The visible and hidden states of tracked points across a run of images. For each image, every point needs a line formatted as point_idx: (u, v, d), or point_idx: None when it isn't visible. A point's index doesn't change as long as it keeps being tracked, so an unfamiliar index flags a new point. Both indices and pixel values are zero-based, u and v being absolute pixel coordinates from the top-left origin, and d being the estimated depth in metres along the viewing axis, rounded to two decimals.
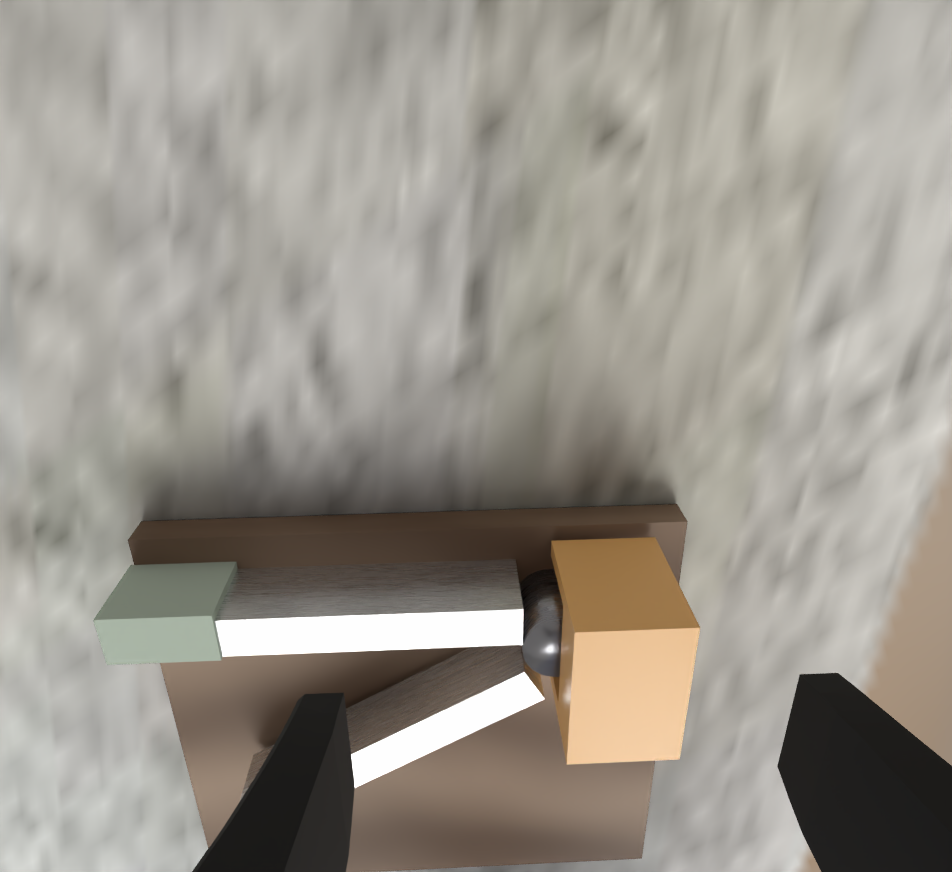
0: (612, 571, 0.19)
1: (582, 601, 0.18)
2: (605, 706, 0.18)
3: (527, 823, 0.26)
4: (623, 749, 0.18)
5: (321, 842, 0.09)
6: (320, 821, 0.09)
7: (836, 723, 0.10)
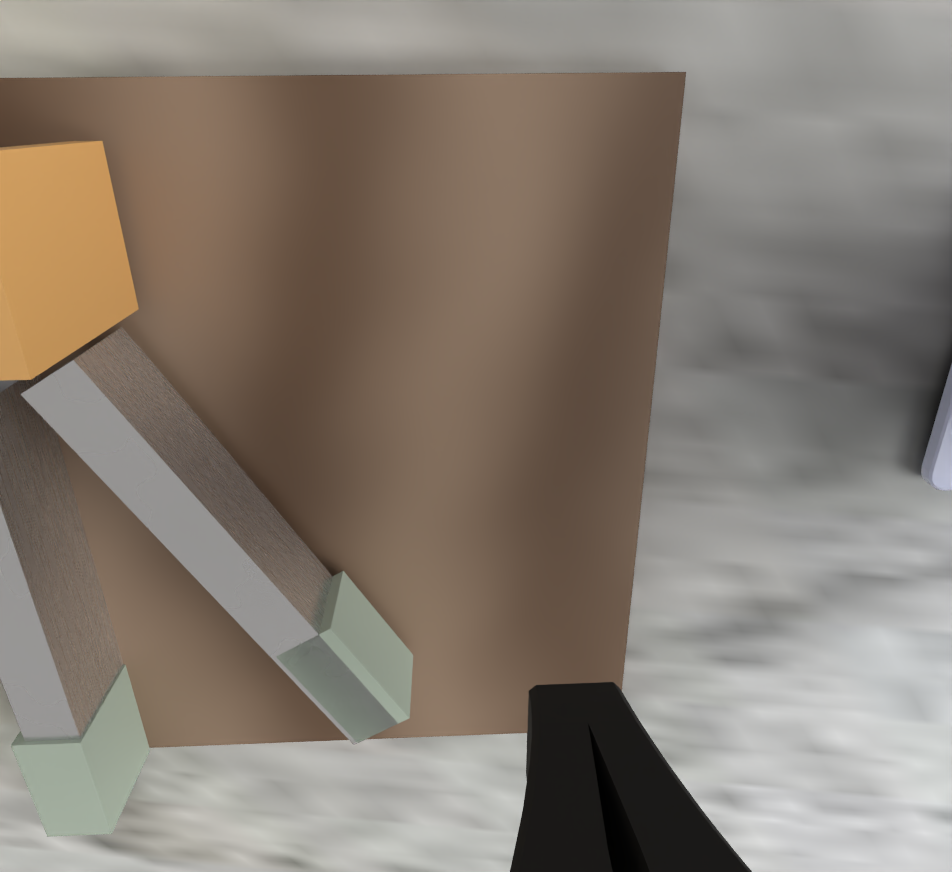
0: None
1: None
2: None
3: (549, 317, 0.14)
4: None
5: None
6: None
7: None
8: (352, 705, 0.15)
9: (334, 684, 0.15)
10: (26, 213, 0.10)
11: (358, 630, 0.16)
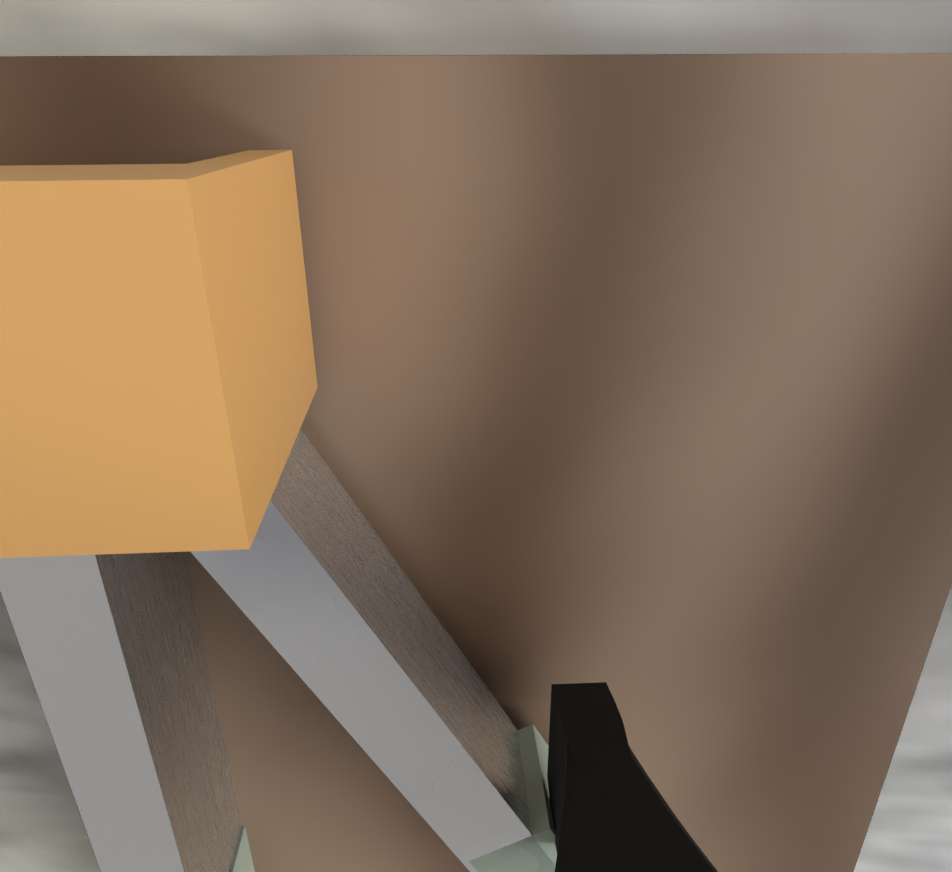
0: None
1: None
2: None
3: (869, 392, 0.10)
4: (162, 390, 0.05)
5: None
6: None
7: (562, 735, 0.10)
8: None
9: None
10: (242, 273, 0.06)
11: None
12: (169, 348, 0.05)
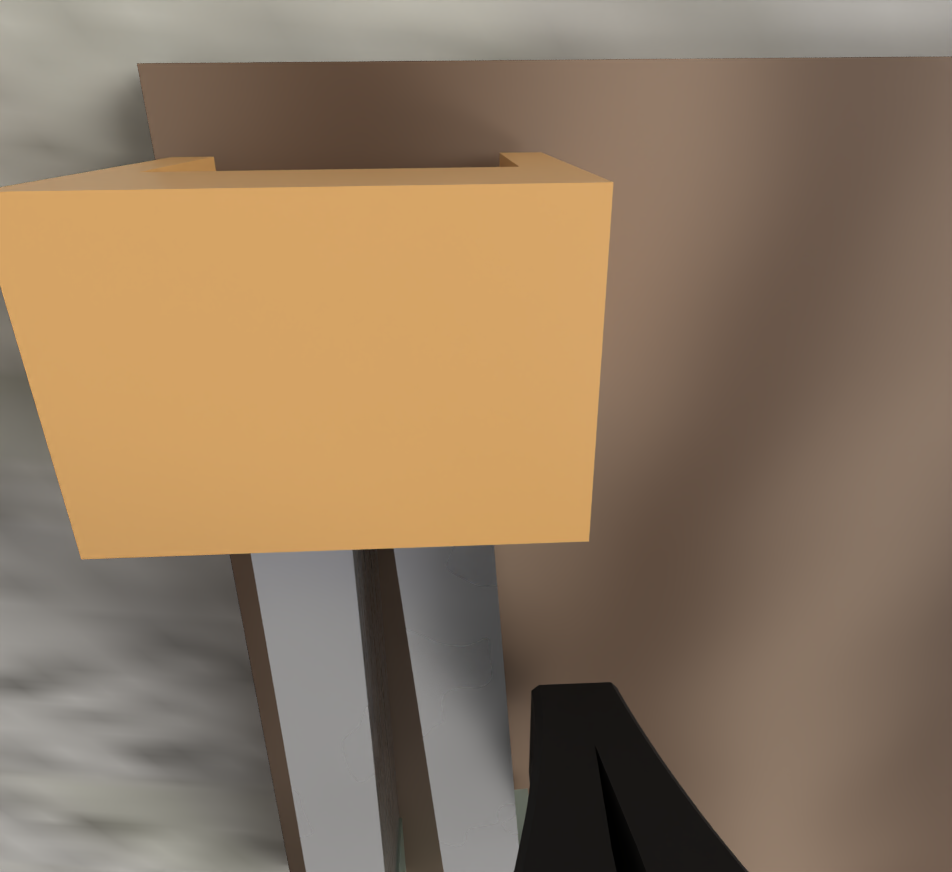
0: None
1: None
2: (351, 457, 0.06)
3: None
4: (542, 387, 0.06)
5: None
6: None
7: None
8: None
9: None
10: None
11: None
12: (558, 346, 0.05)
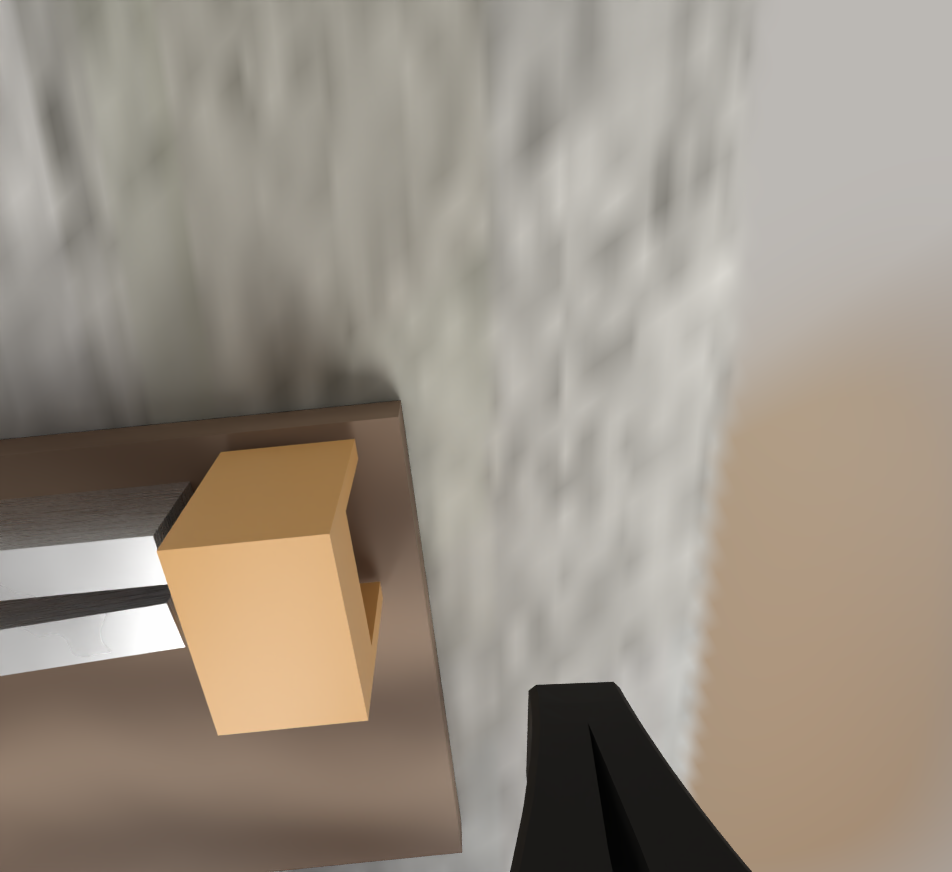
0: (269, 478, 0.14)
1: (199, 514, 0.13)
2: (239, 653, 0.13)
3: (308, 817, 0.21)
4: (287, 711, 0.14)
5: None
6: None
7: None
8: None
9: None
10: None
11: None
12: (305, 714, 0.14)
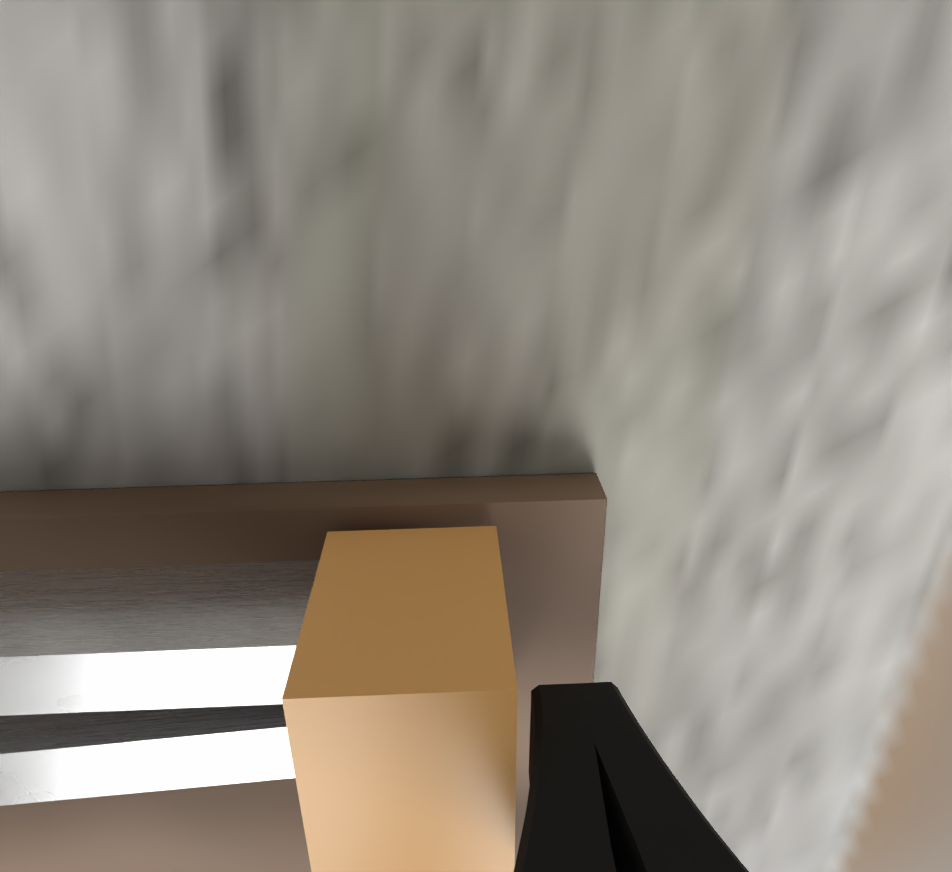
0: (404, 582, 0.11)
1: (326, 637, 0.10)
2: (367, 822, 0.10)
3: None
4: None
5: None
6: None
7: None
8: None
9: None
10: None
11: None
12: None
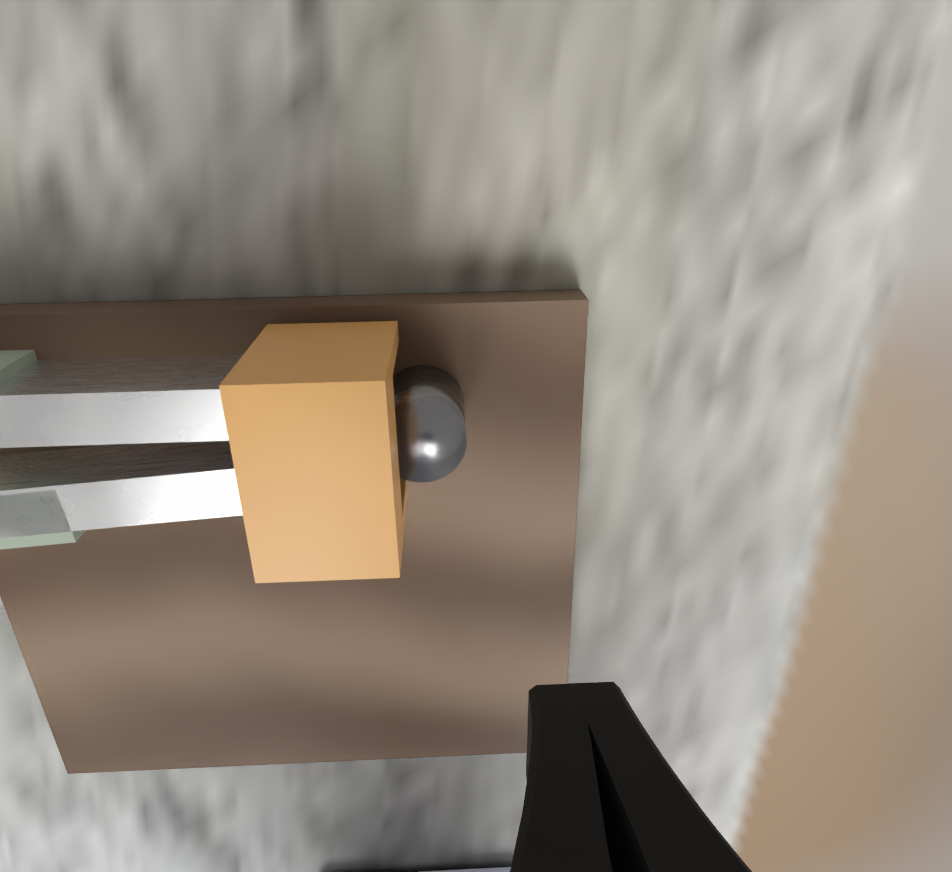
0: (319, 342, 0.15)
1: (255, 363, 0.14)
2: (286, 497, 0.14)
3: (426, 705, 0.22)
4: (324, 562, 0.14)
5: None
6: None
7: None
8: None
9: (6, 517, 0.16)
10: None
11: None
12: (341, 566, 0.14)
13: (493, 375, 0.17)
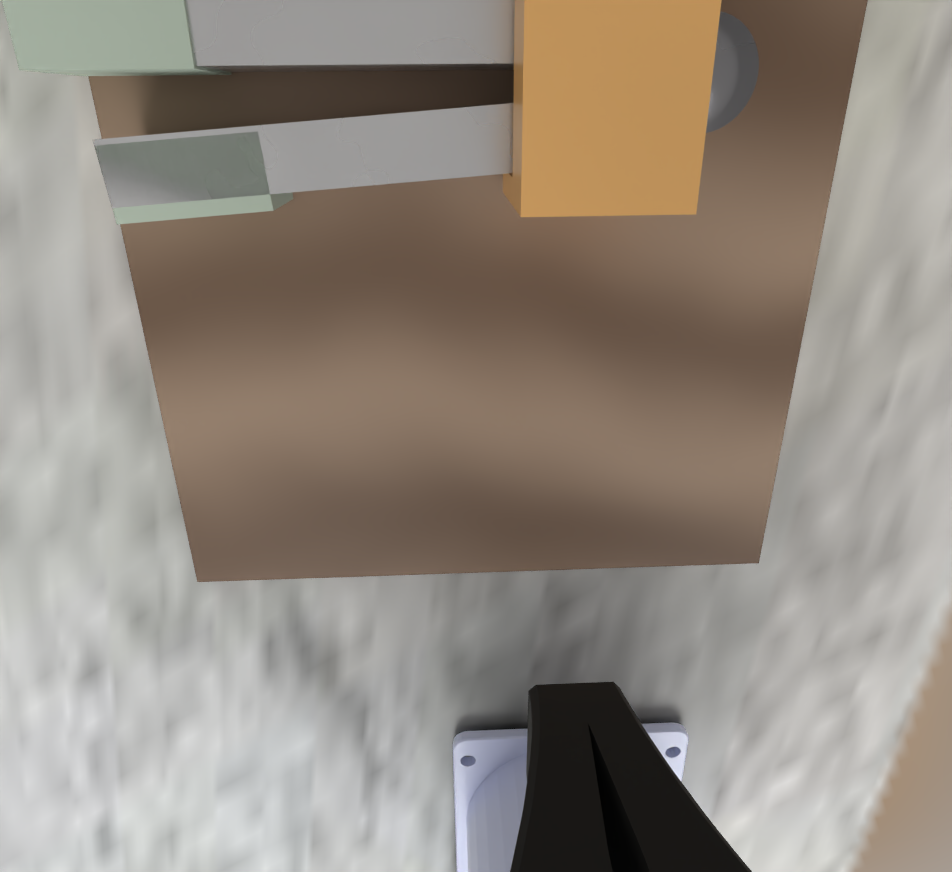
0: None
1: None
2: (579, 83, 0.11)
3: (612, 498, 0.19)
4: (608, 187, 0.12)
5: None
6: None
7: None
8: (157, 173, 0.13)
9: (194, 171, 0.13)
10: None
11: None
12: (628, 194, 0.12)
13: None
